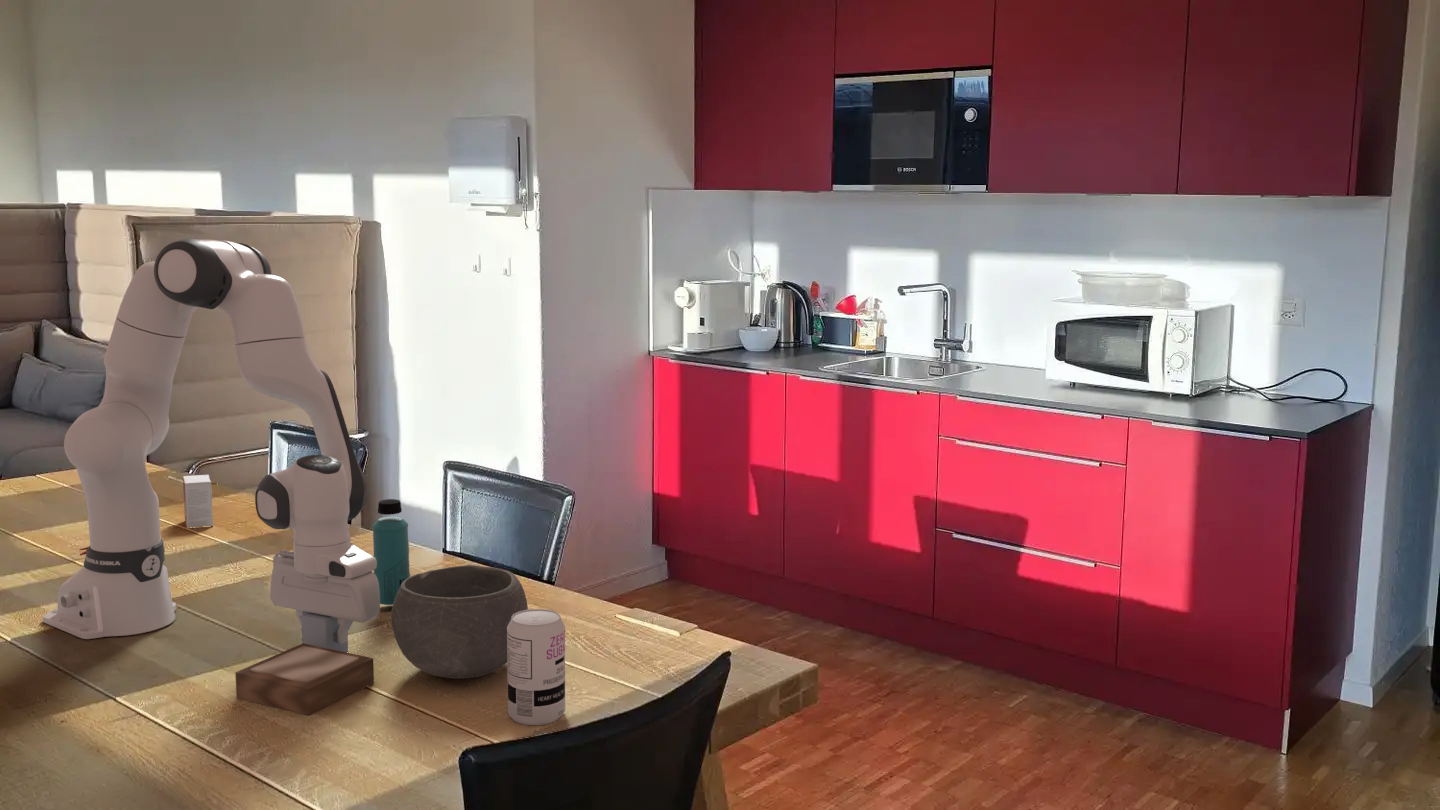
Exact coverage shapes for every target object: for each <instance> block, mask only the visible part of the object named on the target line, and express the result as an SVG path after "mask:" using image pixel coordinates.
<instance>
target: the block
mask: <svg viewBox="0 0 1440 810" xmlns="http://www.w3.org/2000/svg"><path fill="white" fill-rule="evenodd" d="M301 618H302V625H301V637H302V638H301V640H302V642H301V644H303V643H304V644H309V645H314V646H319V647H323V648H328V649H333V650H337V651H342V652H348V653H349V640H347V642H345V643H343V644H340V643H336V642H334V640H333V639H334V637H333V633H334V632H336V631H338V630H339V627H340V625H341V624H338V618H336V617H331V616H326V615H320V614H315V613H310V612H309V613H306V614H304V615H301Z"/></svg>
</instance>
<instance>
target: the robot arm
mask: <svg viewBox="0 0 1440 810" xmlns="http://www.w3.org/2000/svg"><path fill="white" fill-rule="evenodd" d="M159 251H160V252H158V255H156V258H155V260H152V261H147V262H145V263H143V264H142V265H140V266H139V267H138V268H137V269H136V271H135V273H134V275H133V277H132V278H131V281H130V282H129V285H128V286H127V289H126V290H125V293H124V295H123V298H122V300H121V303H120V305H119V308H118V311H117V315H116V317H115V321H114V323H113V324H114V325H113V328H112V331H111V334H110V337H109V341H108V344H107V348H106V350H105V351H106V352H105V354H104V358H103V364H104V368H105V383H104V384H105V385H104V393H103V398H102V400H101V402H100V403H99V405H98V406H96V407H93V408H92V409H89V410H87V411H85V412H83V413H82V414H80V415H79V416H78V417H77V418H76V419H75V420H74V422H73V423H71V425H70V427H69V428H68V430H67V431H66V433H65V435H64V441H63V448H64V452H65V455H66V457H67V459H68V461H69V462H70V463H71V465H72V466H74V467H75V469H76V471H77V475H78V478H79V481H80V485H81V488H82V492H83V494H84V497H85V502H86V507H87V510H86V511H87V521H88V522H87V523H88V532H89V535H88V536H89V546H86V547H83V548H79V551H83V552H81V553H79V555H80V556H84V555H85V557H84V561H83V566H82V568H80V569H79V570H78V571H77V572H76V573H74V574H73V575H72V576H70V577H69V578H68V579H67V580H65V581H64V582H63V583H62V584H61V585H60V586H59V588H58V592H57V608H55V609H53V610H51V611H48V612H47V613H45V614H44V615H43V616H42V622H43V623H45V624H46V625H48V626H51V627H54V628H56V629H58V630H61V631H62V632H63V631H64V633H65V632H66V633H68V634H71V635H73V636H74V637H78V638H80V639H82V640H91V639H97V638H104V637H119V636H120V637H122V636H123V637H125V636H131V635H137V634H138V635H139V634H144V633H147V632H153V631H156V630H158V629H161V628H164V627H166V626H168V625H170V624H172V623H173V622H174V621H175V620H176V614H175V612H176V611H177V609H178V607H177V604H176V602H175V601H173V598H172V591H171V585H170V579H169V573H168V568H167V567H166V566H165V565H164V562H165V560H166V557H165V555H166V553H165V552H166V548H165V545H164V540H163V539H162V537H161V523H160V522H161V520H160V519H161V518H160V505H159V503H160V501H159V497H158V495H157V493H156V491H155V490H154V489H153V487H152V484H151V481H150V477H149V474H148V471H147V465H146V458H147V456H149V455H151V454H152V453H154V452H155V451H157V450H158V448H159V447H161V444H162V443H163V441H164V440H165V438H166V437H167V435H168V433H169V429H170V418H169V414H170V406H171V399H172V389H173V382H174V378H175V374H176V369H177V367H178V365H179V360H180V357H181V353H182V351H183V346H184V343H185V340H186V337H187V333H188V330H189V328H190V327H189V326H190V323H191V320H192V317H193V315H194V313H195V311H196V310H197V309H198V308H202V309H207V310H214V309H216V308H217V309H220V310H222V311H223V312H224V313H225V314H226V315H227V316H228V318H229V320H230V324H231V328H232V335H233V336H232V337H233V343H234V350H235V352H234V353H235V357H236V363H237V368H238V371H239V373H240V376H241V378H242V379H243V380H244V381H245V383H246V384H247V385H248V386H249V387H250V388H252V389H254V390H255V391H257V392H258V393H260V394H262V395H265V396H267V397H269V398H273V399H278V400H279V401H284V402H288V403H291V404H293V405H294V406H295V405H296V406H297V407H299V408H300V409H302V410H303V411H304V412H305V413H306V414H307V415H308V417H309V419H310V421H311V424H312V427H313V430H314V431H313V432H314V433H315V437H316V440H317V444H318V447H319V450H320V454H312V455H311V454H309V455H305V456H301V457H300V458H297V459H296V460H295V461H294V463H293V464H292V466H291V467H288V468H285V469H282V470H279V471H275V472H272V473H269V474H266V475H264V477H263V478H262V479H261V481H260V482H259V483H258V486H257V488H256V491H255V494H254V501H255V503H254V505H255V510H256V514H257V517H258V518H259V519H260V520H261V521H262V522H263V523H264V524H265V525H266V526H268V527H269V528H271V529H274V530H288V529H289V530H292V531H293V538H292V539H293V540H292V542H293V544H292V546H293V549H292V550H293V551H289V550H286V549H282V550H279V551H278V552H277V553H275V555H273V558H272V567H273V568H272V571H271V578H270V589H269V590H270V591H269V593H270V594H269V597H270V601H271V602H272V604H273V605H274V606H275V607H276V606H277V607H281V608H286V609H290V610H295V612H296V613H295V615H296V618H297V619H298V621H299V623H300V625H301V626H302V618H301V615H304V614H306V613H309V612H310V613H315V614H320V615H326V616H331V617H336V618H338V624H341V625H340V627H339V630H338V631H336V632H334V633H333V637H334V639H333V640H334V642H336V643H340V644H343V643H345V642H347V640H348V639H349V633H348V631H349V630H350V629H351V626H352V625H353V623H354V622H356V623H362V624H363V623H367V622H370V621H371V620H374V619H375V618H377V617H378V615H379V613H380V611H381V604H380V592H379V583H378V579H377V577H376V575H375V574H374V570H375V569H376V567H377V560H376V558H375V557H374V555H372V554H370V553H368V552H366V551H365V550H363V549H361V548H360V547H358V545H355V544H354V543H352V542H351V540H352V539H351V532H350V530H349V527H348V522H349V521H352V520H354V519H355V518H356V517H357V516H359V514H360V513H361V512H362V510H363V509H364V507H365V505H366V503H367V501H368V498H369V486H368V481H367V479H366V476H365V474H364V472H363V470H362V468H361V465H360V463H359V461H358V459H357V456H356V454H355V451H354V448H353V447H354V446H353V444H352V441H351V437H350V434H349V431H348V427H347V424H346V422H345V421H346V420H345V417H344V414H343V410H342V408H341V404H340V401H339V397H338V396H337V392H336V390H335V387H334V385H333V384H334V383H333V382H332V380H331V378H330V376H329V374H328V373H327V372H326V371H325V370H323V369H320V368H319V367H318V366H317V364H316V363H315V362H314V360H313V358H312V356H311V354H310V351H309V349H308V346H307V343H306V342H307V341H306V336H305V329H304V324H303V320H302V315H301V312H300V307H299V304H298V302H297V297H296V295H295V292H294V290H293V287H292V286H291V284H290V282H288V281H287V280H286V279H284V278H283V277H281V276H279V275H275V274H273V273H272V268H271V265H270V263H269V260H268V259H267V257H266V256H265V255H264V254H263V253H262V252H261V251H259V250H258V249H256V248H255V247H253V246H251V245H248V244H247V243H246V244H245V243H244V242H243V243H241V242H234V241H229V240H224V239H217V238H213V239H197V238H196V239H195V238H183V239H178V240H176V241H173V242H171V243H169V244H167V245H165V247H163V248H162V249H161V250H159ZM348 641H349V640H348Z"/></svg>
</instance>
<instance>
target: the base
mask: <svg viewBox="0 0 1440 810" xmlns="http://www.w3.org/2000/svg"><path fill="white" fill-rule="evenodd" d="M374 669H375V668H374V657H370V656H365V655H361V654H357V653H350V652H348V653H347V652H342V651H337V650H333V649H328V648H323V647H319V646H314V645H309V644H304V643H303V644H302V643H301V644H298V645H296V646H293V647H292V648H289V649H287V650H285V651H282V652H280V653H277V654H275V655H273V656H270V657H267V658H266V659H263V660H261V661H259V662H256V663H254V664H252V665H249V666H247V667H244V668H242V669H240V670H237V671H236V672H235V692H236V698H237V699H241V700H245V701H249V702H251V703H256V704H260V705H263V706H264V705H265V706H269V707H273V708H277V709H281V710H285V711H288V712H289V711H290V712H295V713H298V714H302V715H305V716H306V715H307V716H311V715H313V714H315V713H317V712H319V711H320V710H323V709H325V708H326V707H328V706H330V705H333V704H335V703H336V702H337V703H338V702H339V701H340V700H343V699H345V698H347V697H349V696H351V695H353V694H354V693H357V692H358V691H360V690H363V689H364V688H366V687H368V686H370V685H373V684H374V683H375V677H374V676H375V675H374V674H375V672H374ZM372 683H373V684H372Z"/></svg>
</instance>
